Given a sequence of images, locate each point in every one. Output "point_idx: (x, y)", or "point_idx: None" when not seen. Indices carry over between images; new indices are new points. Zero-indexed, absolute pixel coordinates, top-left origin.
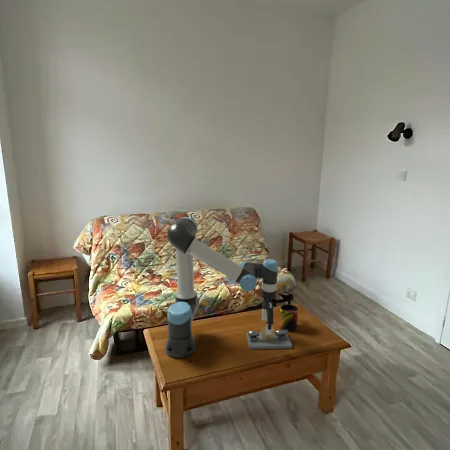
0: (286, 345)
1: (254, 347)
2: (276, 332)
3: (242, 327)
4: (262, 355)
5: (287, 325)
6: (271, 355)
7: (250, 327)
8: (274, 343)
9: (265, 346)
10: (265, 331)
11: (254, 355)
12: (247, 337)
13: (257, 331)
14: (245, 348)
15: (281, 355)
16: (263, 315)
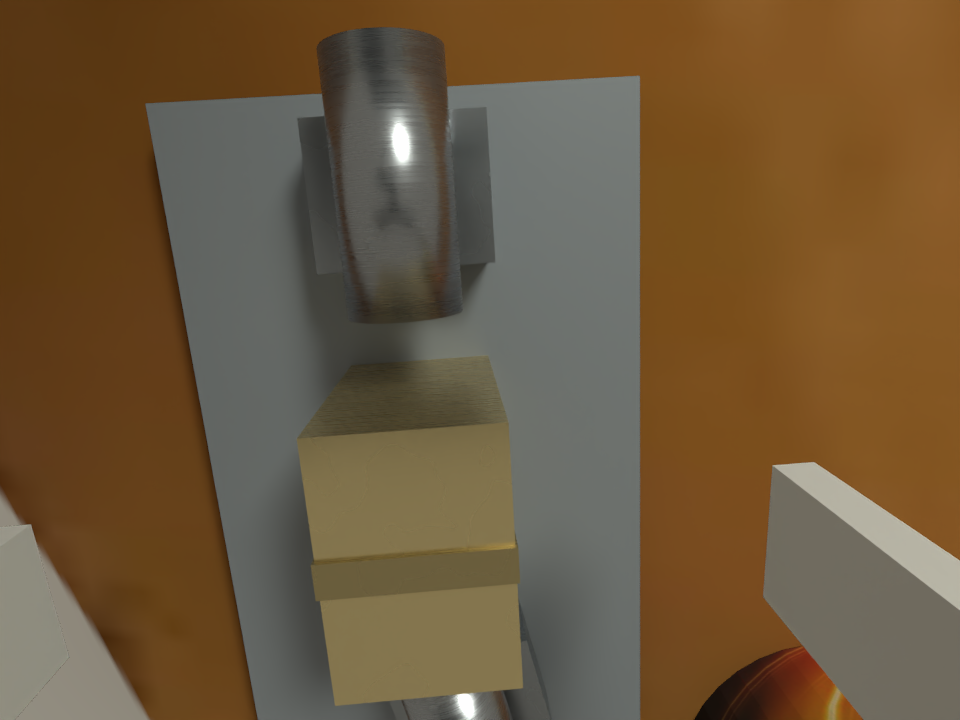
0: (264, 713)
1: (173, 206)
2: None
3: (888, 22)
4: (32, 329)
5: None
6: (60, 465)
7: (869, 184)
8: (304, 552)
9: (201, 403)
10: (307, 498)
11: (5, 194)
12: (484, 87)
13: (395, 291)
14: (191, 39)
15: (87, 600)
16: (899, 616)
